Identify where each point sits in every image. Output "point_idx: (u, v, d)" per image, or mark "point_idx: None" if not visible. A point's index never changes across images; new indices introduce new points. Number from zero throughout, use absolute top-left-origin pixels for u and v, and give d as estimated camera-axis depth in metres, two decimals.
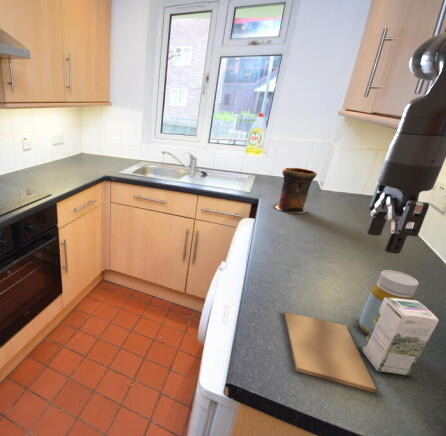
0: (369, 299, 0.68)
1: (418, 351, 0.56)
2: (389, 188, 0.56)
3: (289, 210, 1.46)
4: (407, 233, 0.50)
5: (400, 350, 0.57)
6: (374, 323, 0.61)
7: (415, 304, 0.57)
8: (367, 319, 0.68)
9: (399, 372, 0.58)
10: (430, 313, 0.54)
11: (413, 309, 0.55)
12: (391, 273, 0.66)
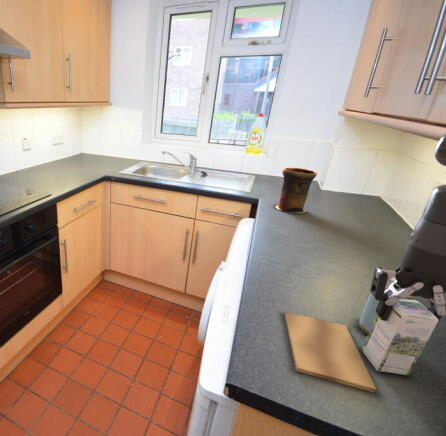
0: (369, 299, 0.68)
1: (418, 351, 0.56)
2: None
3: (289, 210, 1.46)
4: (372, 293, 0.58)
5: (400, 350, 0.57)
6: (374, 323, 0.61)
7: (415, 304, 0.57)
8: (367, 319, 0.68)
9: (399, 372, 0.58)
10: (430, 313, 0.54)
11: (413, 308, 0.55)
12: None
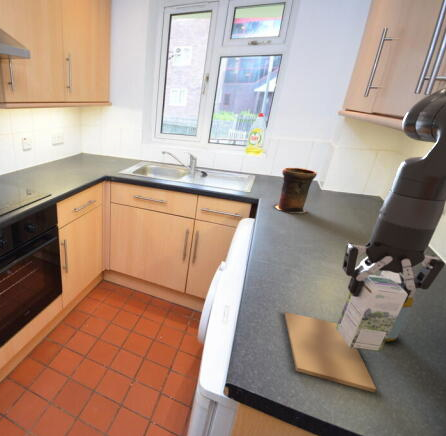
0: None
1: (389, 326, 0.56)
2: None
3: (289, 210, 1.46)
4: (344, 269, 0.58)
5: (371, 326, 0.57)
6: (347, 300, 0.61)
7: (386, 280, 0.57)
8: None
9: (371, 348, 0.59)
10: (400, 288, 0.55)
11: (383, 284, 0.56)
12: (391, 273, 0.66)
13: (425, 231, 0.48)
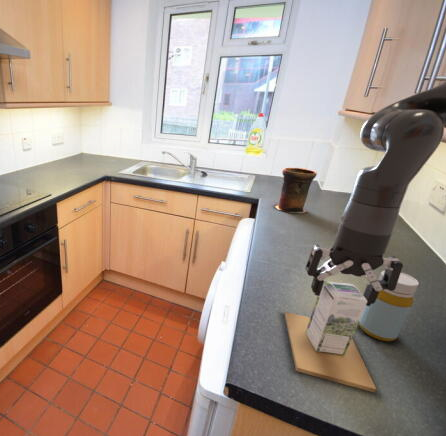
0: None
1: (351, 331, 0.59)
2: None
3: (289, 210, 1.46)
4: (306, 269, 0.61)
5: (335, 331, 0.60)
6: (315, 306, 0.64)
7: (349, 287, 0.60)
8: (367, 319, 0.68)
9: (336, 352, 0.62)
10: (360, 295, 0.57)
11: (346, 291, 0.58)
12: None
13: (381, 236, 0.51)
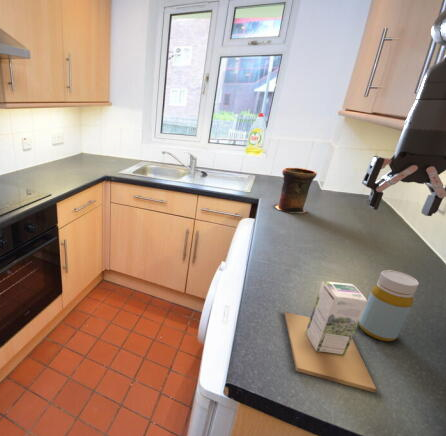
0: (369, 299, 0.68)
1: (351, 331, 0.59)
2: None
3: (289, 210, 1.46)
4: (363, 183, 0.60)
5: (335, 331, 0.60)
6: (315, 306, 0.64)
7: (349, 287, 0.60)
8: (367, 319, 0.68)
9: (336, 352, 0.62)
10: (361, 295, 0.57)
11: (346, 291, 0.58)
12: (391, 273, 0.66)
13: None
